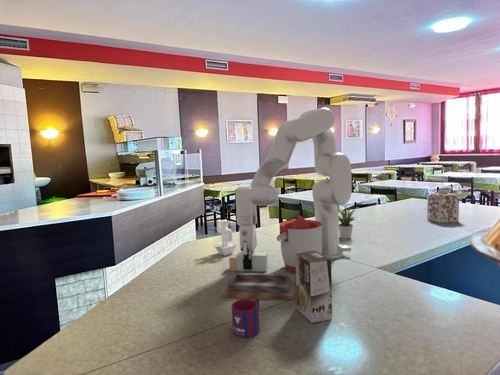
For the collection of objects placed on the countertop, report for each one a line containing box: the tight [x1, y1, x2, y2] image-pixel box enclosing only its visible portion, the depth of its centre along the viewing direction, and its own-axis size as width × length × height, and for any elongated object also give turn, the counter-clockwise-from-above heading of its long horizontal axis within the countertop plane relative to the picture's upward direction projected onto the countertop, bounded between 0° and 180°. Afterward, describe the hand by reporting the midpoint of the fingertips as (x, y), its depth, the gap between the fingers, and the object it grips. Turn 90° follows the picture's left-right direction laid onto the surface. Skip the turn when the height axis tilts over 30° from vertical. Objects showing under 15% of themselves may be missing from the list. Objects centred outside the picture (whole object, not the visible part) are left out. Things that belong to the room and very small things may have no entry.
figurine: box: [213, 219, 237, 256], centre depth 148 cm, size 7×9×15 cm
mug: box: [231, 298, 261, 339], centre depth 85 cm, size 7×10×7 cm
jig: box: [221, 272, 296, 301], centre depth 109 cm, size 22×14×3 cm, turn 80°
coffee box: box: [295, 251, 333, 324], centre depth 90 cm, size 9×6×16 cm
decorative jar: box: [426, 189, 460, 224], centre depth 193 cm, size 12×12×18 cm
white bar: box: [228, 251, 269, 272], centre depth 127 cm, size 14×4×6 cm, turn 80°
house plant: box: [337, 205, 360, 239], centre depth 167 cm, size 14×14×16 cm
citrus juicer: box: [276, 215, 322, 273], centre depth 125 cm, size 16×17×20 cm
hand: (248, 266), depth 128 cm, fingers closed on white bar, 4 cm apart
